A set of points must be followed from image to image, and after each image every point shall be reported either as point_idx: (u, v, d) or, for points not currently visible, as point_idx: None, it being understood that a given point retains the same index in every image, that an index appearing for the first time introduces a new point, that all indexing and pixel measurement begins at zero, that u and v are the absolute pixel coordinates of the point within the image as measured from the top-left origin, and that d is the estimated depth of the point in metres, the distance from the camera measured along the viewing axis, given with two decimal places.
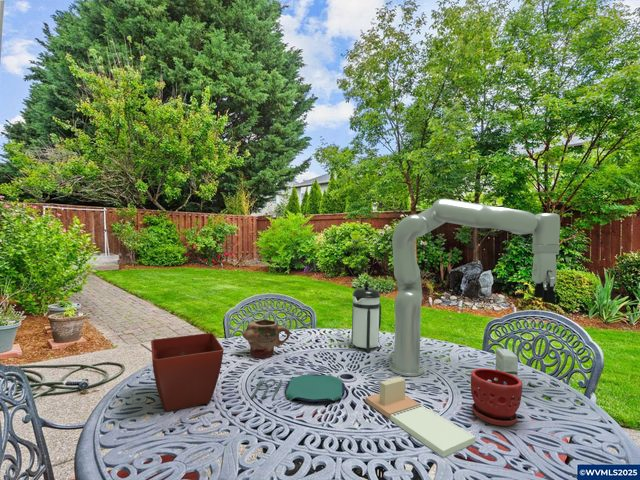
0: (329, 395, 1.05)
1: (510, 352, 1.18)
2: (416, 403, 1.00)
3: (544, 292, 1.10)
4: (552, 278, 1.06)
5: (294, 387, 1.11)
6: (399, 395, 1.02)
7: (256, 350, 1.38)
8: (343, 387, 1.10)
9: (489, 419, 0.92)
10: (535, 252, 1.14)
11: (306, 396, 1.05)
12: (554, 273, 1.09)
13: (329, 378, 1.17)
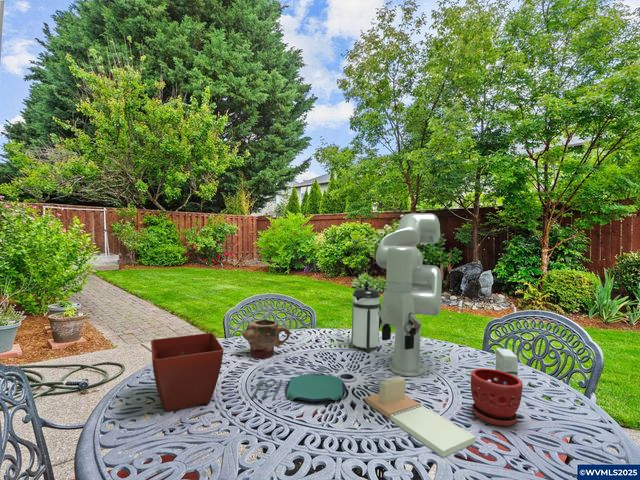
0: (329, 395, 1.06)
1: (510, 352, 1.18)
2: (416, 403, 1.00)
3: (407, 338, 0.97)
4: (419, 323, 0.94)
5: (295, 387, 1.11)
6: (399, 395, 1.02)
7: (256, 350, 1.38)
8: (343, 387, 1.11)
9: (489, 419, 0.92)
10: (394, 292, 0.99)
11: (307, 396, 1.05)
12: (413, 315, 0.98)
13: (329, 378, 1.18)
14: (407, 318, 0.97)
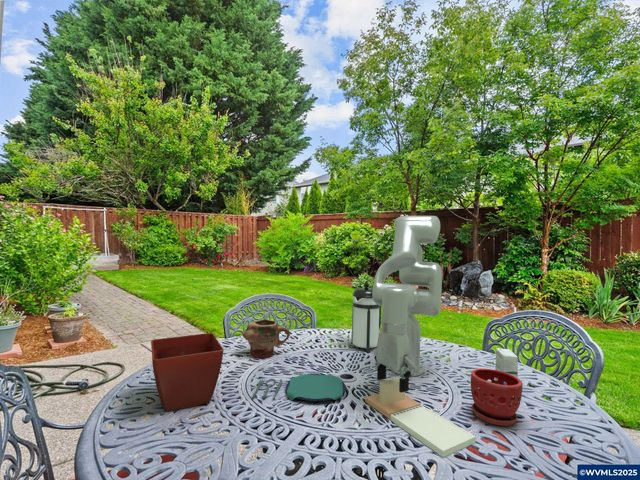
0: (330, 394, 1.06)
1: (510, 352, 1.18)
2: (416, 403, 1.00)
3: (401, 381, 0.96)
4: (413, 366, 0.94)
5: (295, 387, 1.11)
6: (399, 395, 1.02)
7: (256, 350, 1.38)
8: (343, 386, 1.11)
9: (489, 419, 0.92)
10: (389, 333, 0.98)
11: (307, 396, 1.05)
12: (408, 357, 0.98)
13: (329, 377, 1.18)
14: (402, 361, 0.96)
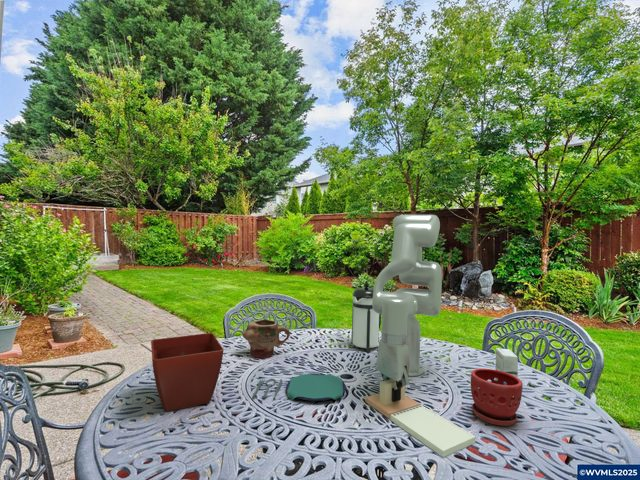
0: (330, 394, 1.06)
1: (510, 352, 1.18)
2: (416, 403, 1.00)
3: (393, 391, 1.00)
4: (407, 383, 0.96)
5: (295, 387, 1.11)
6: None
7: (256, 350, 1.38)
8: (343, 386, 1.11)
9: (489, 419, 0.92)
10: (389, 344, 0.99)
11: (307, 395, 1.05)
12: (408, 367, 0.98)
13: (329, 377, 1.18)
14: (400, 377, 0.97)
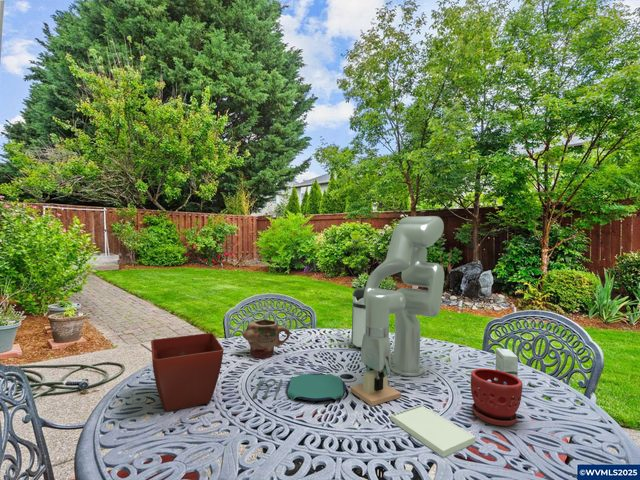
0: (330, 394, 1.06)
1: (510, 352, 1.18)
2: (397, 392, 1.07)
3: (376, 381, 1.06)
4: (388, 373, 1.03)
5: (295, 387, 1.11)
6: None
7: (256, 350, 1.38)
8: (344, 386, 1.12)
9: (489, 419, 0.92)
10: (372, 337, 1.05)
11: (308, 395, 1.05)
12: (390, 358, 1.05)
13: (329, 377, 1.18)
14: (382, 367, 1.04)
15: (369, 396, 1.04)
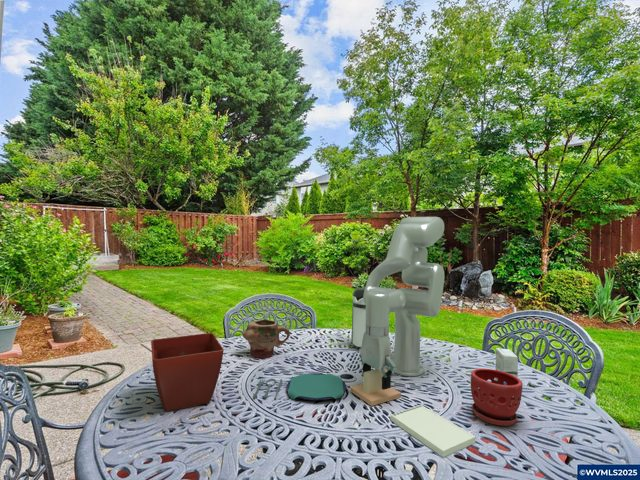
0: (331, 393, 1.07)
1: (510, 352, 1.18)
2: (397, 392, 1.07)
3: (383, 379, 1.04)
4: (394, 366, 1.02)
5: (296, 386, 1.11)
6: (381, 384, 1.09)
7: (256, 350, 1.38)
8: (344, 385, 1.12)
9: (489, 419, 0.92)
10: (372, 336, 1.06)
11: (308, 395, 1.05)
12: (390, 357, 1.05)
13: (329, 377, 1.19)
14: (384, 361, 1.04)
15: (369, 396, 1.04)
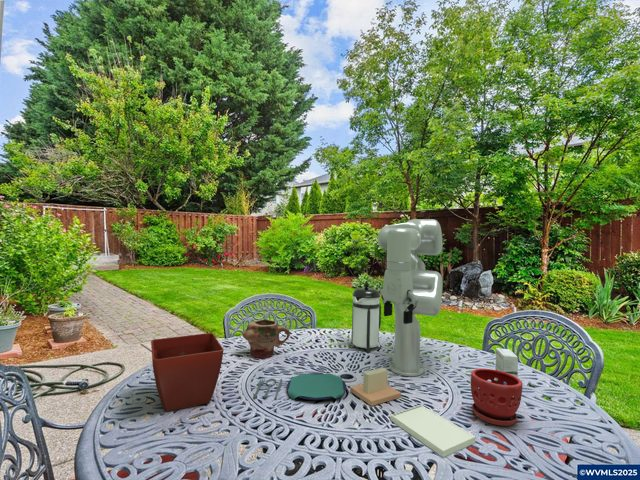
0: (331, 393, 1.07)
1: (510, 352, 1.18)
2: (397, 392, 1.07)
3: (405, 313, 1.04)
4: (416, 299, 1.01)
5: (296, 386, 1.11)
6: (381, 384, 1.09)
7: (256, 350, 1.38)
8: (344, 385, 1.12)
9: (489, 419, 0.92)
10: (393, 271, 1.06)
11: (308, 395, 1.06)
12: (412, 292, 1.05)
13: (329, 376, 1.19)
14: (405, 295, 1.04)
15: (369, 396, 1.04)
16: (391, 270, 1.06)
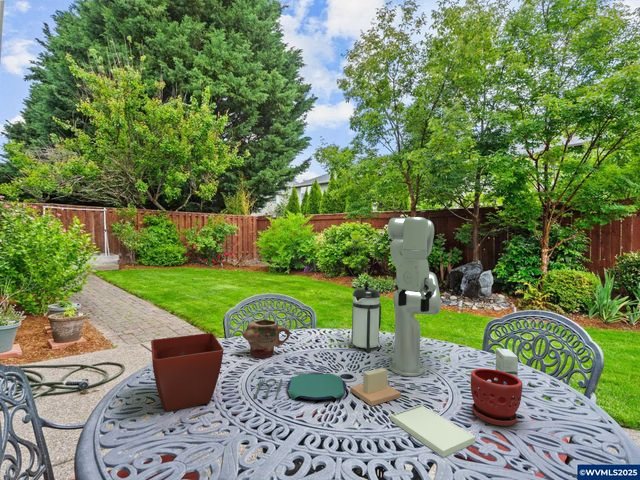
0: (331, 393, 1.07)
1: (510, 352, 1.18)
2: (397, 392, 1.07)
3: (422, 301, 1.03)
4: (434, 286, 1.01)
5: (296, 386, 1.12)
6: (381, 384, 1.09)
7: (256, 350, 1.38)
8: (344, 384, 1.12)
9: (489, 419, 0.92)
10: (410, 259, 1.05)
11: (309, 394, 1.06)
12: (428, 280, 1.05)
13: (329, 376, 1.19)
14: (423, 283, 1.03)
15: (369, 396, 1.04)
16: (408, 258, 1.06)
